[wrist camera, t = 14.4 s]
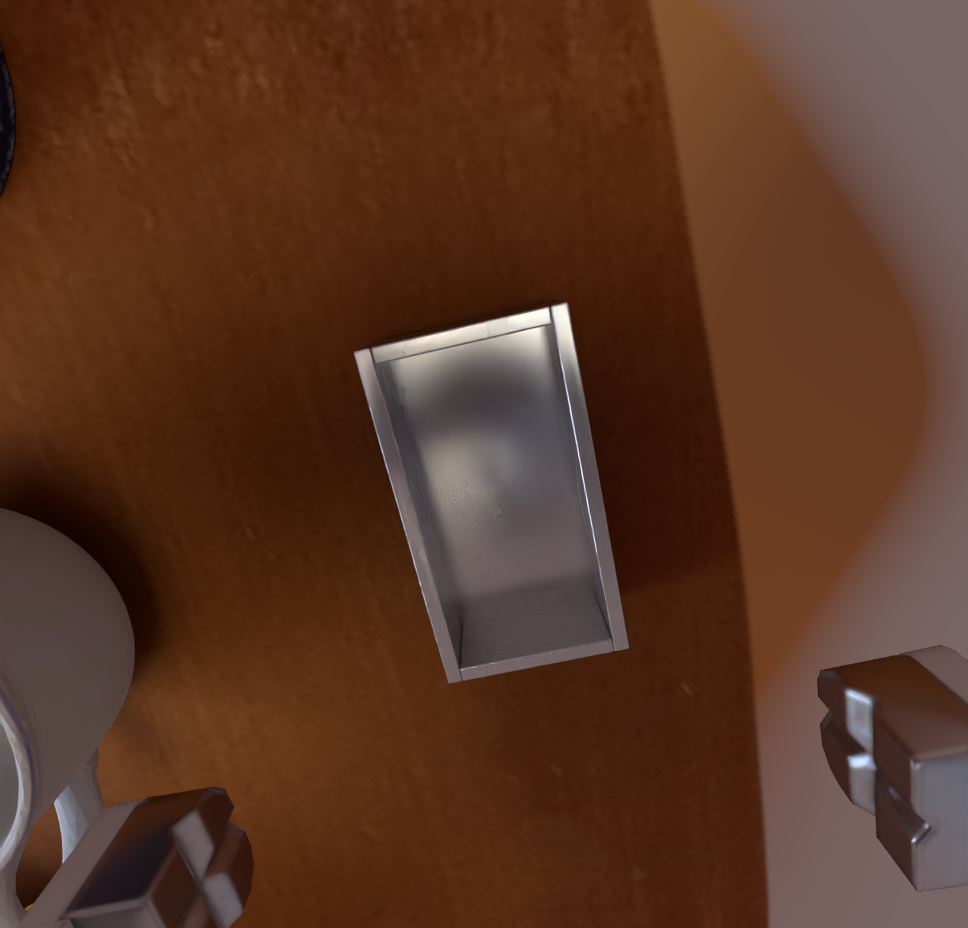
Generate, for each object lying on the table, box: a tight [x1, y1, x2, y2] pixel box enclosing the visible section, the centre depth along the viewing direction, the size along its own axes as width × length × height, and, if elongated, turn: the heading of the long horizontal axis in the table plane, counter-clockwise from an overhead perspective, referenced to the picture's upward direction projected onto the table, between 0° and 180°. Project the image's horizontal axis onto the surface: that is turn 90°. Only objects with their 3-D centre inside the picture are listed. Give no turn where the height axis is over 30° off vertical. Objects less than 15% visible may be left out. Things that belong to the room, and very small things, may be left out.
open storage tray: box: [353, 300, 629, 684], centre depth 18 cm, size 11×6×3 cm, turn 13°
